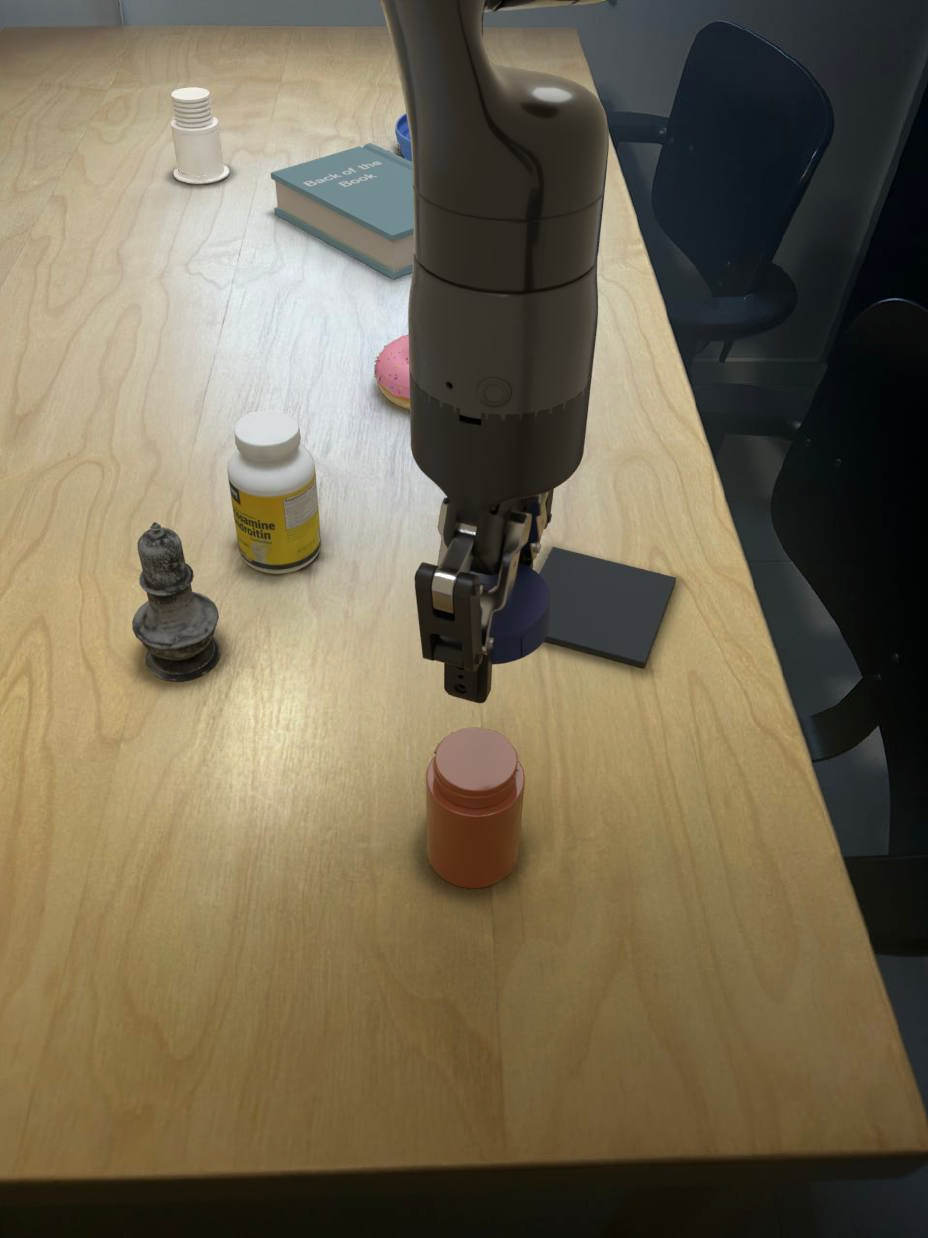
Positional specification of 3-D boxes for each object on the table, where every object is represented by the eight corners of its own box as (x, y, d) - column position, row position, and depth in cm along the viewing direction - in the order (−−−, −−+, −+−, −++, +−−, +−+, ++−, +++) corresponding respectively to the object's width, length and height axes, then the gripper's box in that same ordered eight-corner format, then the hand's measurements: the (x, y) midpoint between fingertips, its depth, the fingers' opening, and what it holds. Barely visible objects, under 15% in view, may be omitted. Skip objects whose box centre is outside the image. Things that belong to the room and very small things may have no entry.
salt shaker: (163, 697, 76) (130, 563, 68) (127, 648, 79) (92, 515, 71) (239, 662, 78) (217, 529, 70) (202, 616, 82) (176, 484, 74)
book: (274, 213, 134) (270, 172, 131) (377, 180, 142) (376, 140, 139) (393, 279, 122) (392, 235, 119) (498, 238, 130) (500, 196, 127)
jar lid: (573, 637, 54) (574, 608, 53) (470, 682, 52) (469, 653, 51) (510, 573, 58) (510, 544, 57) (412, 612, 56) (409, 583, 55)
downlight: (228, 186, 140) (218, 103, 133) (172, 188, 139) (159, 105, 133) (230, 162, 146) (220, 81, 139) (175, 164, 145) (163, 83, 138)
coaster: (675, 583, 86) (676, 577, 85) (644, 668, 79) (645, 662, 78) (552, 552, 88) (552, 546, 88) (511, 632, 81) (511, 626, 81)
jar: (530, 827, 68) (539, 736, 63) (501, 901, 65) (508, 810, 59) (445, 801, 70) (447, 709, 64) (412, 872, 66) (410, 781, 60)
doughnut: (511, 402, 104) (513, 362, 101) (407, 432, 100) (406, 392, 97) (454, 350, 111) (454, 312, 108) (355, 376, 107) (353, 338, 104)
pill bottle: (228, 539, 89) (208, 414, 81) (304, 517, 91) (292, 394, 83) (256, 587, 84) (237, 461, 76) (334, 563, 87) (324, 438, 79)
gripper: (472, 269, 51) (466, 552, 62) (344, 430, 41) (364, 732, 52) (631, 297, 49) (595, 583, 61) (537, 473, 39) (515, 775, 51)
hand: (488, 651), depth 56 cm, fingers closed on jar lid, 5 cm apart
